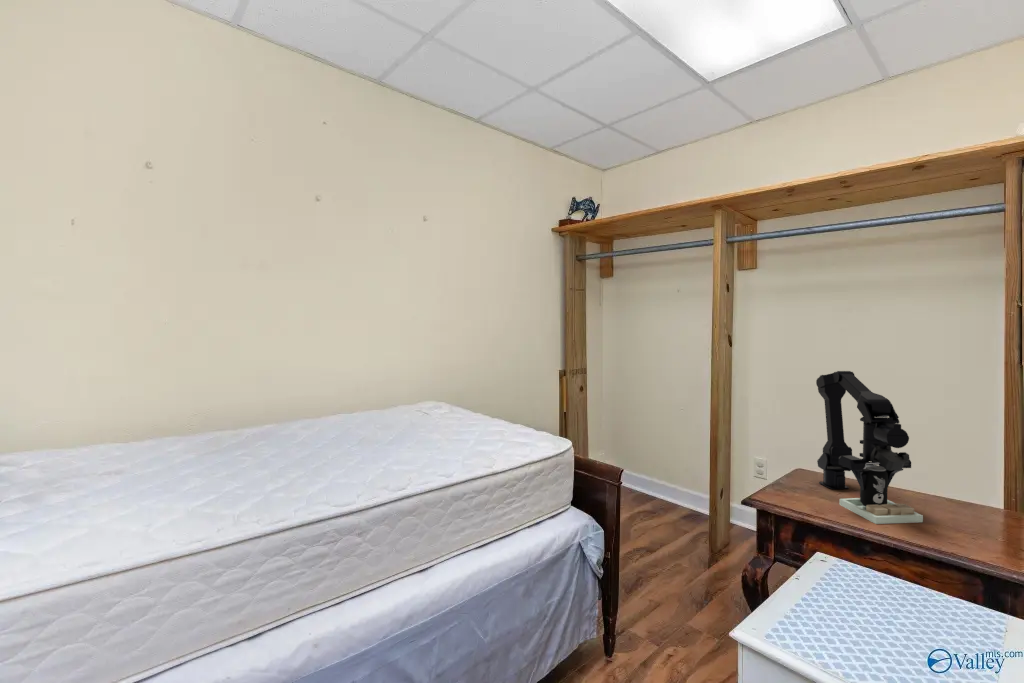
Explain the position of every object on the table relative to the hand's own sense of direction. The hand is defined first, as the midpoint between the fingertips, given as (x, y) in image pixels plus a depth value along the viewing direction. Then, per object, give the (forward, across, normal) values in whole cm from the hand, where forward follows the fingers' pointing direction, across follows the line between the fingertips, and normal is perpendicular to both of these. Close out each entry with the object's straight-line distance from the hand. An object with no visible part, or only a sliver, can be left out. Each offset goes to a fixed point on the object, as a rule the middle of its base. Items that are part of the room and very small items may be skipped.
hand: (873, 489), depth 142 cm
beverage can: (+5, 0, 0) cm, 5 cm away
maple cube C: (+6, +4, -6) cm, 10 cm away
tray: (+7, 0, -2) cm, 7 cm away
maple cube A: (+6, -4, -6) cm, 10 cm away
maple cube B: (+6, 0, -6) cm, 9 cm away
